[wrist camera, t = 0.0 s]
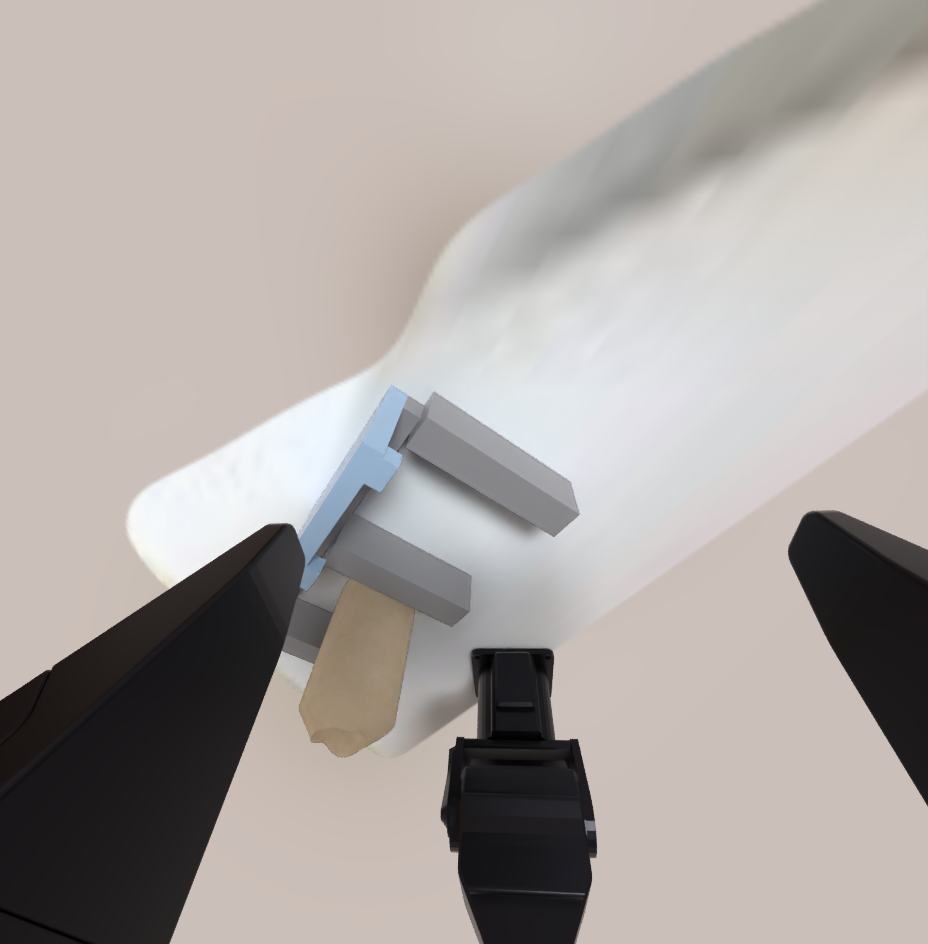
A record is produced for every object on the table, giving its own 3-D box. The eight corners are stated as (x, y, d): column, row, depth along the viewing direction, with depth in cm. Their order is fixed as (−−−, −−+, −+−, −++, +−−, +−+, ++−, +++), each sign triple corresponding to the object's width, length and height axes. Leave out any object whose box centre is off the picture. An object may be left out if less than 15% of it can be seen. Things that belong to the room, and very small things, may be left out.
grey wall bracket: (387, 655, 35) (370, 731, 30) (255, 597, 32) (212, 672, 27) (570, 481, 24) (591, 555, 19) (401, 369, 21) (374, 423, 16)
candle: (415, 624, 33) (389, 771, 24) (344, 616, 32) (294, 762, 24) (418, 575, 30) (390, 724, 21) (340, 566, 29) (281, 713, 21)
